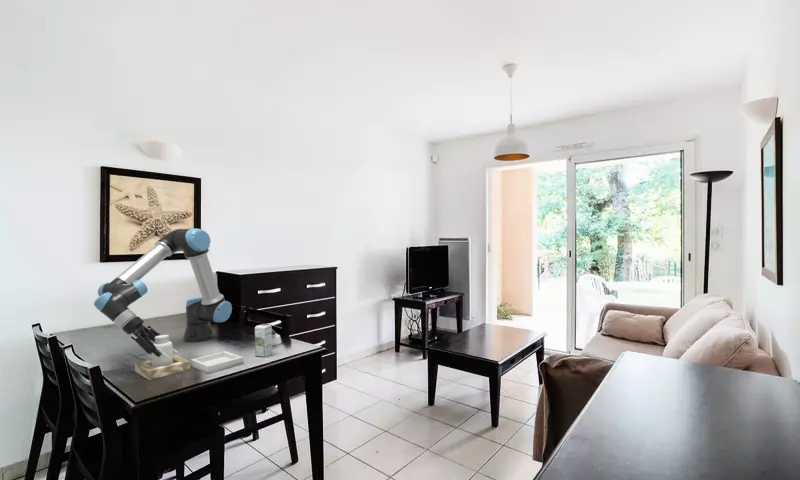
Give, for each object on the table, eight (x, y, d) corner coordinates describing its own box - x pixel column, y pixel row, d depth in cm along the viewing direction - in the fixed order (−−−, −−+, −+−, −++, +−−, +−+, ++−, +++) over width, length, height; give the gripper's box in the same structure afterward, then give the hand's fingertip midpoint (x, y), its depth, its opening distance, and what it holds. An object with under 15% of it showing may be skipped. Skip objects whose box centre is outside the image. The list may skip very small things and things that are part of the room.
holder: (174, 362, 183) (174, 354, 183) (190, 369, 173) (189, 361, 173) (135, 371, 170) (134, 363, 170) (149, 380, 160) (148, 371, 160)
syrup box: (272, 354, 194) (272, 324, 193) (264, 357, 188) (264, 327, 188) (262, 353, 196) (262, 323, 195) (254, 356, 190) (254, 326, 190)
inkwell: (282, 340, 219) (281, 322, 218) (280, 349, 201) (280, 330, 201) (264, 341, 216) (264, 323, 216) (261, 351, 199) (260, 331, 199)
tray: (225, 357, 189) (225, 351, 189) (243, 363, 179) (243, 357, 179) (190, 366, 177) (190, 359, 177) (207, 373, 167) (207, 366, 167)
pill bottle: (157, 367, 175) (157, 334, 175) (176, 367, 176) (176, 333, 175) (148, 374, 167) (147, 338, 167) (167, 373, 168) (167, 338, 168)
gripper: (134, 323, 179) (173, 356, 182) (109, 334, 158) (154, 371, 161) (147, 311, 179) (185, 344, 183) (123, 320, 159) (168, 357, 162)
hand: (171, 357), depth 172 cm, fingers closed on pill bottle, 8 cm apart
